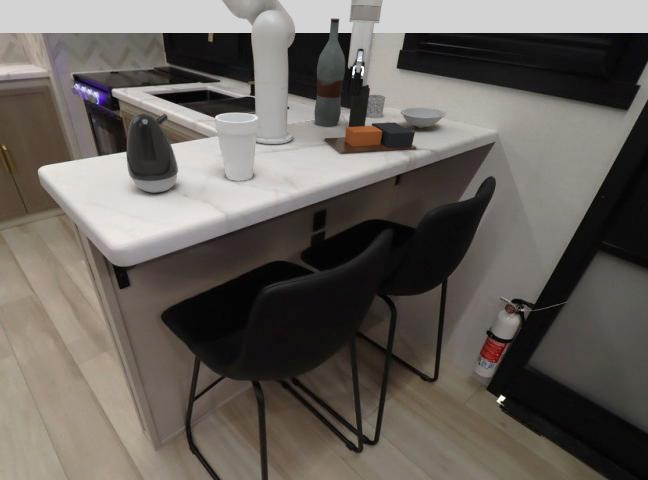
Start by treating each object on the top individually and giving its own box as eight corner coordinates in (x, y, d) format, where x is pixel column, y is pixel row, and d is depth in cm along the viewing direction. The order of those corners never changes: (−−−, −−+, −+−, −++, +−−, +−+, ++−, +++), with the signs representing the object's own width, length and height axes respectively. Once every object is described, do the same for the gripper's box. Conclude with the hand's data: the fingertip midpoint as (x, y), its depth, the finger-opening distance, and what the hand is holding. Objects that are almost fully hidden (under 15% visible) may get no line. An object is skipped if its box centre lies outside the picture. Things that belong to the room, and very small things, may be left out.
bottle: (308, 122, 135) (313, 17, 116) (327, 119, 139) (335, 18, 121) (325, 128, 129) (334, 19, 110) (345, 124, 133) (356, 19, 115)
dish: (425, 136, 124) (429, 119, 121) (388, 127, 132) (391, 112, 129) (450, 127, 134) (454, 112, 131) (414, 120, 142) (417, 105, 139)
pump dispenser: (190, 188, 84) (180, 113, 75) (149, 201, 78) (132, 122, 68) (164, 176, 89) (152, 105, 80) (123, 188, 83) (105, 112, 74)
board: (341, 153, 107) (341, 151, 106) (324, 140, 117) (324, 138, 117) (416, 149, 112) (416, 147, 112) (393, 136, 123) (394, 134, 122)
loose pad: (352, 146, 110) (354, 132, 108) (344, 141, 115) (346, 126, 113) (380, 145, 112) (382, 130, 110) (371, 139, 117) (373, 125, 115)
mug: (375, 113, 150) (378, 94, 146) (385, 116, 145) (388, 97, 141) (354, 114, 147) (356, 95, 142) (363, 118, 142) (365, 98, 138)
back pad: (387, 147, 111) (390, 133, 108) (370, 136, 120) (372, 123, 117) (411, 146, 112) (415, 132, 110) (392, 135, 121) (395, 122, 119)
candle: (364, 132, 126) (377, 41, 111) (349, 131, 126) (360, 41, 111) (362, 128, 130) (374, 40, 115) (347, 127, 130) (357, 40, 115)
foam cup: (222, 184, 86) (217, 123, 78) (217, 170, 93) (212, 113, 85) (263, 181, 88) (262, 121, 80) (254, 168, 95) (253, 112, 87)
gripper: (350, 14, 101) (342, 86, 112) (349, 15, 88) (340, 97, 98) (379, 15, 100) (368, 88, 111) (381, 16, 87) (369, 99, 97)
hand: (355, 92), depth 105 cm, fingers open, 9 cm apart
